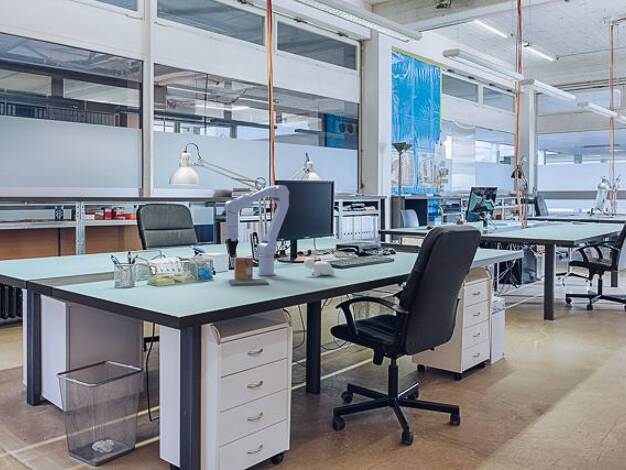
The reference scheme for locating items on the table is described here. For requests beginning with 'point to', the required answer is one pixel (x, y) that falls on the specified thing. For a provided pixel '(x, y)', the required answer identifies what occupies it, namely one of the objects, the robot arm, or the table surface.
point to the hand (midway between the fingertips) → (232, 255)
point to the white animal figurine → (319, 267)
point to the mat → (248, 282)
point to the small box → (243, 268)
